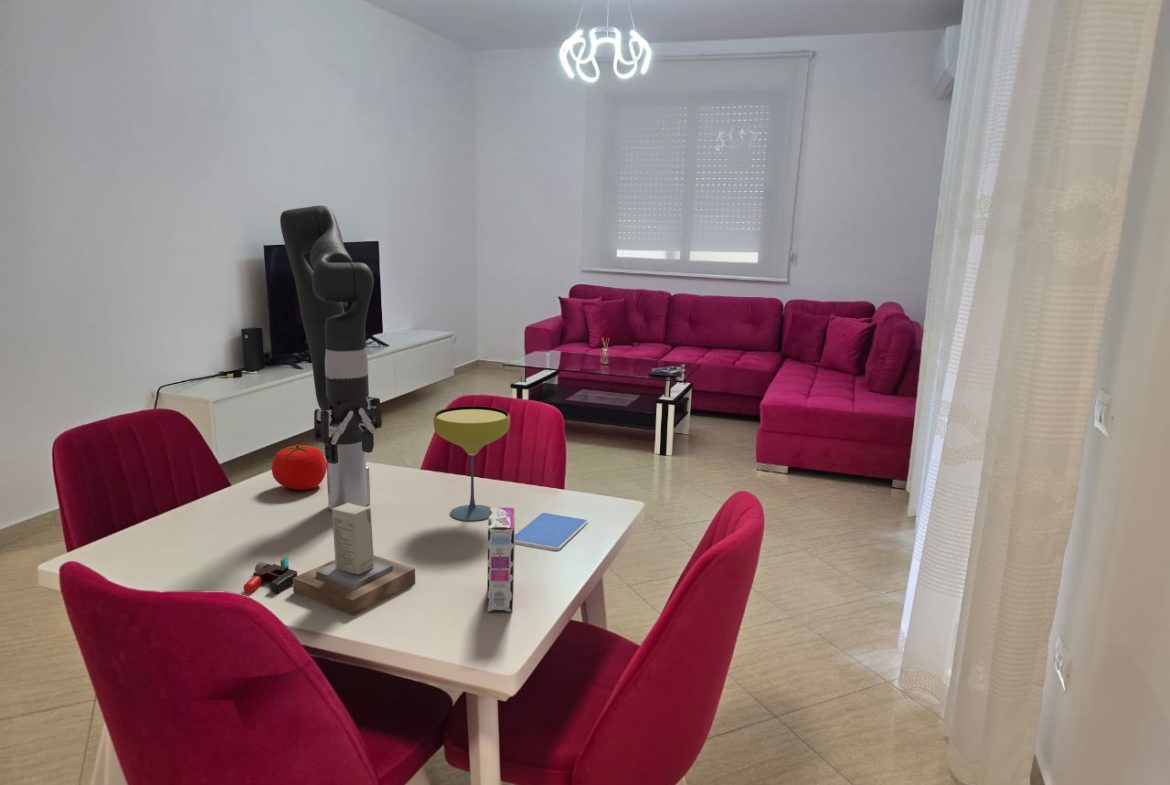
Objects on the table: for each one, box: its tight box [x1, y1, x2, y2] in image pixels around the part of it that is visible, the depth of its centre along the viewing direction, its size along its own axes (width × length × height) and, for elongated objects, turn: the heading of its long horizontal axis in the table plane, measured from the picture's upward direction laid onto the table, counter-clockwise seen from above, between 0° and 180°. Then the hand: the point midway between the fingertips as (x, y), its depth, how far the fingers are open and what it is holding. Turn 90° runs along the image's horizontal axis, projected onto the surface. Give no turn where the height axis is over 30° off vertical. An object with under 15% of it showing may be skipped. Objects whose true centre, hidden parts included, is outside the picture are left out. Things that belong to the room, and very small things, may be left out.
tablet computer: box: [515, 512, 589, 552], centre depth 181 cm, size 19×13×1 cm, turn 159°
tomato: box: [271, 444, 327, 491], centre depth 205 cm, size 13×14×12 cm
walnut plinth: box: [292, 554, 416, 616], centre depth 150 cm, size 16×16×4 cm
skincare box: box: [331, 503, 374, 575], centre depth 149 cm, size 6×4×12 cm
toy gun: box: [242, 554, 298, 595], centre depth 151 cm, size 10×12×5 cm
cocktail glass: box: [433, 405, 511, 522], centre depth 188 cm, size 18×18×25 cm
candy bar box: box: [486, 507, 516, 613], centre depth 146 cm, size 11×5×16 cm, turn 5°
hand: (350, 457), depth 146 cm, fingers open, 8 cm apart
